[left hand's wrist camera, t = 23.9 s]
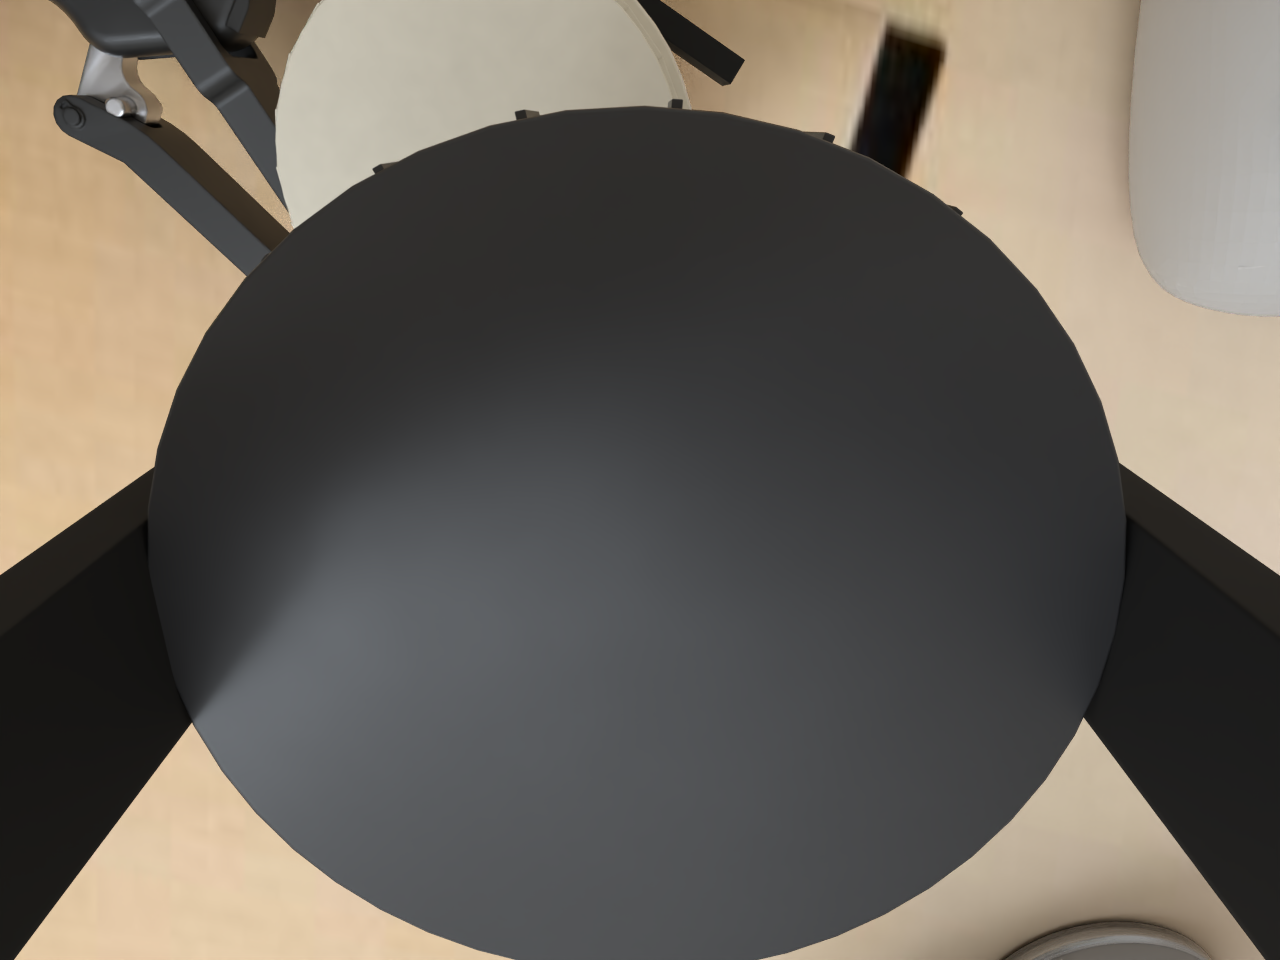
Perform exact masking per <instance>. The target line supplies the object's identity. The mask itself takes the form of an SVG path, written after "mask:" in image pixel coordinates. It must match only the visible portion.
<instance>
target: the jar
mask: <svg viewBox="0 0 1280 960" xmlns="http://www.w3.org/2000/svg"><path fill="white" fill-rule="evenodd" d="M672 99H682V100H683V108H682V109H690V110H692V107H691V103H690V100H689V96H688V93H687V90H686V86H685V83H684V79H683V77H682V74H681V72H680V70H679V67H678V65H677V63H676V60H675V58H674V56H673V54H672V51H671V49H670V48H669V46H668V44H667V43H666V41H665V39H664V37H663V36H662V34H661V32H660V31H659V29H658V27H657V26H656V24H655V23H654V21H653V20H652V19H651V17H650V16H649V15H648V14H647V12H646V11H645V10H644V8H643V7H642V6H641V5H640V3H639V2H638V1H637V0H321V1H320V2H319V3H317V5H316V7H315V8H314V10H313V12H312V14H311V16H310V18H309V19H308V21H307V23H306V25H305V27H304V28H303V30H302V31H301V33H300V35H299V37H298V40H297V41H296V43H295V45H294V47H293V49H292V51H291V52H290V53H289V55H288V59H287V64H286V68H285V73H284V76H283V80H282V83H281V88H280V94H279V99H278V103H277V108H276V109H275V123H276V137H275V143H276V154H277V167H276V169H277V173H278V176H279V180H280V183H281V187H282V191H283V196H284V199H285V202H286V205H287V208H288V211H289V215H290V218H291V224H292V226H293V228H294V229H295V228H296V227H297V226H299V225H300V224H301V223H303V222H304V221H305V220H307V219H308V218H309V217H311V216H312V215H313V214H315V213H316V212H318V211H319V210H320V209H322V208H323V207H324V206H326V205H327V204H328V203H330V202H331V201H332V200H334V199H335V198H336V197H338V196H339V195H341V194H342V193H343V192H345V191H346V190H347V189H349V188H350V187H351V186H353V185H355V184H357V183H359V182H360V181H362V180H364V179H366V178H368V177H370V176H372V175H374V174H375V173H374V172H373V170H372V169H373V168H374V167H376V166H378V165H379V164H384V163H390V162H397V161H400V160H402V159H404V158H406V157H408V156H409V155H411V154H413V153H415V152H417V151H419V150H422V149H425V148H428V147H430V146H433V145H436V144H439V143H442V142H445V141H447V140H450V139H453V138H456V137H459V136H461V135H464V134H467V133H470V132H473V131H475V130H478V129H481V128H484V127H487V126H489V125H494V124H499V123H504V122H509V121H514V120H516V116H515V111H519V110H524V109H525V110H532V111H539V114H540V115H544V114H549V113H554V112H559V111H564V110H575V109H593V108H610V107H628V106H655V107H667V108H668V102H669V101H670V100H672Z"/></svg>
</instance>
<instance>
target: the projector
mask: <svg viewBox="0 0 1280 960" xmlns="http://www.w3.org/2000/svg"><path fill="white" fill-rule="evenodd" d="M1128 178H1129V197H1130V211H1131V218H1132V225H1133V232H1134V237H1135V241H1136V244H1137V248H1138V251H1139V255H1140V257H1141V259H1142V261H1143V263H1144V265H1145V267H1146V269H1147V271H1148V272H1149V274H1150V275H1151V277H1152V278H1153V279H1154V280H1155V281H1156V282H1157V283H1158V284H1159V285H1160V286H1161V287H1162V288H1163V289H1164V290H1165V291H1167V292H1168V293H1170V294H1171V295H1173V296H1175V297H1176V298H1179V299H1181V300H1183V301H1185V302H1188V303H1191V304H1193V305H1196V306H1199V307H1203V308H1207V309H1211V310H1215V311H1220V312H1225V313H1230V314H1239V315H1248V316H1280V0H1141V4H1140V12H1139V21H1138V29H1137V37H1136V46H1135V56H1134V68H1133V79H1132V91H1131V106H1130V126H1129V174H1128Z"/></svg>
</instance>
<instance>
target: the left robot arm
mask: <svg viewBox="0 0 1280 960" xmlns="http://www.w3.org/2000/svg"><path fill="white" fill-rule="evenodd" d="M1119 468H1120V476H1121V483H1122V491H1123V499H1124V506H1125V514H1126V559H1125V581H1124V587H1123V593H1122V599H1121V605H1120V610H1119V616H1118V622H1117V627H1116V632H1115V636H1114V640H1113V643H1112V646H1111V649H1110V652H1109V655H1108V658H1107V661H1106V664H1105V668H1104V671H1103V674H1102V677H1101V680H1100V683H1099V686H1098V688H1097V690H1096V692H1095V694H1094V696H1093V698H1092V701H1091V703H1090V705H1089V707H1088V709H1087V711H1086V713H1085V715H1084V718H1085V720H1086V721H1087V722H1088V724H1089V725H1090V726H1091V728H1092V729H1093V730H1094V732H1095V733H1096V734H1097V736H1098V737H1099V738H1100V740H1101V741H1102V742H1103V744H1104V745H1105V746H1106V748H1107V749H1108V750H1109V752H1110V753H1111V754H1112V756H1113V757H1114V758H1115V760H1116V761H1117V762H1118V764H1119V765H1120V766H1121V768H1122V769H1123V770H1124V772H1125V773H1126V774H1127V776H1128V777H1129V778H1130V780H1131V781H1132V782H1133V784H1134V785H1135V786H1136V788H1137V789H1138V790H1139V792H1140V793H1141V794H1142V796H1143V797H1144V798H1145V800H1146V801H1147V802H1148V804H1149V805H1150V806H1151V808H1152V809H1153V810H1154V812H1155V813H1156V814H1157V816H1158V817H1159V818H1160V820H1161V821H1162V822H1163V824H1164V825H1165V826H1166V828H1167V829H1168V830H1169V832H1170V833H1171V834H1172V836H1173V837H1174V838H1175V840H1176V841H1177V842H1178V844H1179V845H1180V846H1181V848H1182V849H1183V850H1184V852H1185V853H1186V854H1187V856H1188V857H1189V858H1190V860H1191V861H1192V862H1193V864H1194V865H1195V866H1196V868H1197V869H1198V870H1199V872H1200V873H1201V874H1202V876H1203V877H1204V878H1205V880H1206V881H1207V882H1208V884H1209V885H1210V886H1211V888H1212V889H1213V890H1214V892H1215V893H1216V894H1217V896H1218V897H1219V898H1220V900H1221V901H1222V902H1223V904H1224V905H1225V906H1226V908H1227V909H1228V910H1229V912H1230V913H1231V914H1232V916H1233V917H1234V918H1235V920H1236V921H1237V922H1238V924H1239V925H1240V926H1241V928H1242V929H1243V930H1244V932H1245V933H1246V934H1247V936H1248V937H1249V938H1250V940H1251V941H1252V942H1253V944H1254V945H1255V946H1256V948H1257V949H1258V950H1259V952H1260V953H1261V954H1262V956H1263V957H1264V958H1265V960H1280V576H1279V575H1278V574H1277V573H1275V572H1274V571H1272V570H1271V569H1270V568H1268V567H1267V566H1265V565H1264V564H1262V563H1261V562H1260V561H1258V560H1257V559H1255V558H1254V557H1252V556H1251V555H1250V554H1248V553H1247V552H1245V551H1244V550H1243V549H1241V548H1240V547H1238V546H1237V545H1235V544H1234V543H1233V542H1231V541H1230V540H1228V539H1227V538H1225V537H1224V536H1223V535H1221V534H1220V533H1218V532H1217V531H1215V530H1214V529H1213V528H1211V527H1210V526H1208V525H1207V524H1206V523H1204V522H1203V521H1201V520H1200V519H1198V518H1197V517H1196V516H1194V515H1193V514H1191V513H1190V512H1188V511H1187V510H1186V509H1184V508H1183V507H1181V506H1180V505H1179V504H1177V503H1176V502H1174V501H1173V500H1171V499H1170V498H1169V497H1167V496H1166V495H1164V494H1163V493H1161V492H1160V491H1159V490H1157V489H1156V488H1154V487H1153V486H1152V485H1150V484H1149V483H1147V482H1146V481H1144V480H1143V479H1142V478H1140V477H1139V476H1137V475H1136V474H1134V473H1133V472H1132V471H1130V470H1129V469H1127V468H1126V467H1125V466H1123V465H1122V464H1120V463H1119ZM153 473H154V467H153V468H152V469H151V470H149V471H148V472H146V473H145V474H143V475H142V476H141V477H139V478H138V479H136V480H135V481H134V482H132V483H131V484H129V485H128V486H126V487H125V488H124V489H122V490H121V491H119V492H118V493H116V494H115V495H114V496H112V497H111V498H109V499H108V500H107V501H105V502H104V503H102V504H101V505H99V506H98V507H97V508H95V509H94V510H92V511H91V512H89V513H88V514H87V515H85V516H84V517H82V518H81V519H80V520H78V521H77V522H75V523H74V524H72V525H71V526H70V527H68V528H67V529H65V530H64V531H62V532H61V533H60V534H58V535H57V536H55V537H54V538H52V539H51V540H50V541H48V542H47V543H45V544H44V545H43V546H41V547H40V548H38V549H37V550H35V551H34V552H33V553H31V554H30V555H28V556H27V557H25V558H24V559H23V560H21V561H20V562H18V563H17V564H16V565H14V566H13V567H11V568H10V569H8V570H7V571H6V572H4V573H3V574H1V575H0V960H14V959H15V958H16V956H17V955H18V954H19V952H20V951H21V950H22V948H23V947H24V946H25V944H26V943H27V942H28V940H29V939H30V938H31V936H32V935H33V934H34V932H35V931H36V930H37V928H38V927H39V926H40V924H41V923H42V922H43V920H44V919H45V918H46V916H47V915H48V914H49V912H50V911H51V910H52V908H53V907H54V906H55V904H56V903H57V902H58V900H59V899H60V898H61V896H62V895H63V894H64V892H65V891H66V890H67V888H68V887H69V886H70V884H71V883H72V882H73V880H74V879H75V878H76V876H77V875H78V874H79V872H80V871H81V870H82V868H83V867H84V866H85V864H86V863H87V862H88V860H89V859H90V858H91V856H92V855H93V854H94V852H95V851H96V850H97V848H98V847H99V846H100V844H101V843H102V842H103V840H104V839H105V838H106V836H107V835H108V834H109V832H110V831H111V830H112V828H113V827H114V826H115V824H116V823H117V822H118V820H119V819H120V818H121V816H122V815H123V814H124V812H125V811H126V810H127V808H128V807H129V806H130V804H131V803H132V802H133V800H134V799H135V798H136V796H137V795H138V794H139V792H140V791H141V790H142V788H143V787H144V786H145V784H146V783H147V782H148V780H149V779H150V778H151V776H152V775H153V774H154V772H155V771H156V770H157V768H158V767H159V766H160V764H161V763H162V762H163V760H164V759H165V758H166V756H167V755H168V754H169V752H170V751H171V750H172V748H173V747H174V746H175V744H176V743H177V742H178V740H179V739H180V738H181V736H182V735H183V734H184V732H185V731H186V730H187V728H188V727H189V726H190V724H191V723H192V721H191V718H190V716H189V714H188V712H187V710H186V707H185V705H184V703H183V701H182V699H181V696H180V694H179V692H178V690H177V687H176V684H175V681H174V677H173V673H172V669H171V665H170V661H169V656H168V652H167V648H166V643H165V639H164V635H163V630H162V626H161V622H160V617H159V613H158V609H157V605H156V600H155V596H154V592H153V587H152V583H151V578H150V573H149V568H148V563H147V556H148V504H149V498H150V492H151V486H152V479H153ZM1004 960H1212V959H1211V958H1210V957H1209V955H1208V954H1207V953H1206V952H1205V951H1204V950H1203V949H1202V948H1201V947H1200V946H1199V945H1197V944H1196V943H1195V942H1193V941H1192V940H1190V939H1188V938H1187V937H1185V936H1183V935H1181V934H1179V933H1177V932H1174V931H1172V930H1169V929H1166V928H1163V927H1159V926H1155V925H1150V924H1144V923H1135V922H1103V923H1095V924H1087V925H1082V926H1077V927H1073V928H1069V929H1065V930H1062V931H1059V932H1056V933H1053V934H1050V935H1048V936H1045V937H1043V938H1040V939H1038V940H1036V941H1034V942H1032V943H1030V944H1028V945H1026V946H1024V947H1023V948H1021V949H1019V950H1017V951H1016V952H1014V953H1013V954H1011V955H1010V956H1009V957H1007V958H1006V959H1004Z"/></svg>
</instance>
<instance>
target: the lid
mask: <svg viewBox="0 0 1280 960" xmlns="http://www.w3.org/2000/svg"><path fill="white" fill-rule="evenodd" d="M682 108H683V100H682V99H672V100H670V101H669V102H668V108H667V107H655V106H628V107H610V108H593V109H575V110H564V111H559V112H554V113H549V114H544V115H540V114H539V111H532V110H525V109H524V110H519V111H515V116H516V120H514V121H509V122H504V123H499V124H494V125H489V126H487V127H484V128H481V129H478V130H475V131H473V132H470V133H467V134H464V135H461V136H459V137H456V138H453V139H450V140H447V141H445V142H442V143H439V144H436V145H433V146H430V147H428V148H425V149H422V150H419V151H417V152H415V153H413V154H411V155H409V156H408V157H406V158H404V159H402V160H400V161H397V162H390V163H384V164H379V165H378V166H376V167H374V168H373V169H372V170H373V172H374V173H375V174H374V175H372V176H370V177H368V178H366V179H364V180H362V181H360V182H359V183H357V184H355V185H353V186H351V187H350V188H349V189H347V190H346V191H345V192H343V193H342V194H341V195H339V196H338V197H336V198H335V199H334V200H332V201H331V202H330V203H328V204H327V205H326V206H324V207H323V208H322V209H320V210H319V211H318V212H316V213H315V214H313V215H312V216H311V217H309V218H308V219H307V220H305V221H304V222H303V223H301V224H300V225H299V226H297V227H296V228H295V229H293V230H292V231H291V232H290V233H289V235H288V236H287V237H286V238H285V239H284V240H283V241H282V242H281V243H280V244H279V245H278V246H277V247H276V248H275V249H274V250H273V251H272V252H271V253H268V254H266V255H265V256H264V257H263V258H262V260H261V263H260V264H259V265H258V266H257V267H256V268H255V269H254V270H253V271H252V272H251V273H250V274H249V275H248V276H247V277H246V278H245V279H244V280H243V282H242V283H241V285H240V286H239V287H238V289H237V290H236V291H235V293H234V294H233V296H232V297H231V298H230V300H229V301H228V302H227V304H226V305H225V307H224V308H223V309H222V311H221V312H220V313H219V315H218V316H217V318H216V319H215V320H214V322H213V323H212V324H211V326H210V327H209V329H208V330H207V331H206V333H205V335H204V337H203V339H202V341H201V343H200V345H199V347H198V349H197V351H196V353H195V355H194V357H193V358H192V360H191V362H190V364H189V366H188V368H187V370H186V372H185V374H184V376H183V378H182V380H181V382H180V384H179V386H178V388H177V390H176V393H175V396H174V399H173V402H172V405H171V408H170V412H169V415H168V418H167V421H166V424H165V427H164V430H163V433H162V436H161V439H160V442H159V445H158V449H157V455H156V461H155V467H154V473H153V479H152V486H151V492H150V498H149V504H148V556H147V563H148V568H149V573H150V578H151V583H152V587H153V592H154V596H155V600H156V605H157V609H158V613H159V617H160V622H161V626H162V630H163V635H164V639H165V643H166V648H167V652H168V656H169V661H170V665H171V669H172V673H173V677H174V681H175V684H176V687H177V690H178V692H179V694H180V696H181V699H182V701H183V703H184V705H185V707H186V710H187V712H188V714H189V716H190V718H191V721H192V723H193V725H194V727H195V728H196V730H197V732H198V733H199V735H200V736H201V738H202V740H203V741H204V743H205V745H206V746H207V748H208V749H209V751H210V753H211V754H212V756H213V757H214V759H215V761H216V762H217V764H218V765H219V767H220V769H221V770H222V772H223V773H224V774H225V775H226V777H227V778H228V779H229V780H230V782H231V783H232V784H233V785H234V787H235V788H236V789H237V790H238V791H239V793H240V794H241V795H242V796H243V798H244V799H245V800H246V801H247V803H248V804H249V805H250V806H251V808H252V809H253V810H254V811H255V812H256V814H258V815H259V816H260V817H261V818H262V819H263V820H264V821H265V822H266V823H267V824H268V825H269V826H270V827H271V828H272V829H273V830H274V831H275V832H276V833H277V834H278V835H279V836H280V837H281V838H282V839H283V840H284V841H285V842H286V843H287V844H288V845H289V846H290V847H291V848H292V849H294V850H295V851H296V852H297V853H299V854H300V855H301V856H302V857H304V858H305V859H306V860H308V861H309V862H310V863H312V864H313V865H314V866H315V867H317V868H318V869H319V870H321V871H322V872H323V873H324V874H326V875H327V876H328V877H330V878H331V879H332V880H334V881H335V882H336V883H338V884H339V885H341V886H343V887H344V888H346V889H348V890H349V891H351V892H353V893H354V894H356V895H357V896H359V897H361V898H362V899H364V900H366V901H367V902H369V903H371V904H372V905H374V906H375V907H377V908H379V909H380V910H382V911H384V912H386V913H389V914H391V915H393V916H395V917H397V918H399V919H401V920H403V921H405V922H407V923H410V924H412V925H414V926H416V927H418V928H420V929H422V930H424V931H426V932H428V933H431V934H434V935H437V936H440V937H442V938H445V939H448V940H451V941H453V942H456V943H459V944H462V945H465V946H467V947H470V948H473V949H476V950H479V951H483V952H487V953H491V954H495V955H499V956H503V957H507V958H511V959H515V960H759V959H763V958H768V957H772V956H776V955H780V954H785V953H788V952H791V951H794V950H797V949H800V948H803V947H806V946H809V945H812V944H815V943H818V942H821V941H824V940H827V939H830V938H833V937H836V936H838V935H840V934H843V933H845V932H847V931H849V930H851V929H854V928H856V927H858V926H860V925H862V924H865V923H867V922H869V921H871V920H873V919H876V918H878V917H880V916H882V915H884V914H886V913H888V912H890V911H891V910H893V909H895V908H896V907H898V906H900V905H902V904H903V903H905V902H907V901H908V900H910V899H912V898H914V897H915V896H917V895H919V894H920V893H922V892H924V891H925V890H927V889H929V888H930V887H932V886H933V885H934V884H936V883H937V882H939V881H940V880H941V879H943V878H944V877H945V876H947V875H948V874H949V873H951V872H952V871H953V870H955V869H956V868H957V867H959V866H960V865H962V864H963V863H964V862H966V861H967V860H968V859H970V858H971V857H972V856H973V855H974V854H976V853H977V852H978V851H979V850H980V849H981V848H982V847H983V846H984V845H985V844H986V843H987V842H988V841H990V840H991V839H992V838H993V837H994V836H995V835H996V834H997V833H998V832H999V831H1000V830H1001V829H1002V828H1003V827H1005V826H1006V825H1007V824H1008V823H1009V822H1010V821H1011V820H1012V819H1013V818H1014V816H1015V815H1016V814H1017V813H1018V812H1019V810H1020V809H1021V808H1022V807H1023V806H1024V805H1025V803H1026V802H1027V801H1028V800H1029V799H1030V798H1031V796H1032V795H1033V794H1034V793H1035V792H1036V790H1037V789H1038V788H1039V787H1040V786H1041V785H1042V783H1043V782H1044V781H1045V780H1046V778H1047V777H1048V775H1049V774H1050V772H1051V771H1052V769H1053V768H1054V766H1055V765H1056V763H1057V762H1058V760H1059V758H1060V757H1061V755H1062V754H1063V752H1064V751H1065V749H1066V748H1067V746H1068V745H1069V743H1070V742H1071V740H1072V739H1073V737H1074V736H1075V734H1076V732H1077V730H1078V727H1079V725H1080V723H1081V721H1082V719H1083V717H1084V715H1085V713H1086V711H1087V709H1088V707H1089V705H1090V703H1091V701H1092V698H1093V696H1094V694H1095V692H1096V690H1097V688H1098V686H1099V683H1100V680H1101V677H1102V674H1103V671H1104V668H1105V664H1106V661H1107V658H1108V655H1109V652H1110V649H1111V646H1112V643H1113V640H1114V636H1115V632H1116V627H1117V622H1118V616H1119V610H1120V605H1121V599H1122V593H1123V587H1124V581H1125V559H1126V514H1125V506H1124V499H1123V491H1122V483H1121V476H1120V468H1119V461H1118V457H1117V454H1116V450H1115V447H1114V443H1113V440H1112V437H1111V433H1110V430H1109V426H1108V423H1107V420H1106V416H1105V413H1104V409H1103V406H1102V402H1101V400H1100V398H1099V396H1098V394H1097V391H1096V389H1095V387H1094V385H1093V383H1092V381H1091V379H1090V377H1089V375H1088V372H1087V370H1086V368H1085V366H1084V364H1083V362H1082V360H1081V358H1080V355H1079V353H1078V351H1077V349H1076V347H1075V345H1074V343H1073V342H1072V340H1071V339H1070V337H1069V336H1068V334H1067V333H1066V331H1065V330H1064V328H1063V327H1062V325H1061V324H1060V322H1059V321H1058V320H1057V318H1056V317H1055V315H1054V314H1053V312H1052V311H1051V309H1050V308H1049V306H1048V305H1047V303H1046V302H1045V300H1044V299H1043V297H1042V296H1041V295H1040V293H1039V292H1038V290H1037V289H1036V288H1035V287H1034V286H1033V284H1032V283H1031V282H1030V281H1029V280H1028V279H1027V278H1026V277H1025V276H1024V275H1023V274H1022V273H1021V272H1020V271H1019V269H1018V268H1017V267H1016V266H1015V265H1014V264H1013V263H1012V262H1011V261H1010V260H1009V259H1008V258H1007V257H1006V256H1005V254H1004V253H1003V252H1002V251H1001V250H1000V249H999V248H998V247H997V246H996V245H995V244H994V243H993V242H992V241H991V240H990V239H989V238H988V237H987V236H986V235H984V234H983V233H982V232H981V231H979V230H978V229H977V228H976V227H974V226H973V225H972V224H970V223H969V222H968V221H967V220H965V219H964V218H963V217H962V216H961V215H962V214H963V212H962V211H961V210H959V209H958V208H957V207H954V206H950V205H946V204H945V203H944V202H943V201H941V200H940V199H939V198H938V197H936V196H935V195H934V194H932V193H930V192H929V191H927V190H925V189H923V188H922V187H920V186H918V185H916V184H915V183H913V182H911V181H909V180H908V179H906V178H904V177H902V176H901V175H899V174H897V173H895V172H894V171H892V170H890V169H888V168H887V167H885V166H883V165H881V164H880V163H878V162H876V161H874V160H873V159H871V158H869V157H866V156H864V155H861V154H859V153H856V152H854V151H851V150H848V149H846V148H843V147H841V146H838V145H836V144H833V141H834V138H835V136H834V135H831V134H829V133H826V132H802V131H800V130H797V129H792V128H788V127H784V126H779V125H775V124H771V123H766V122H762V121H758V120H754V119H749V118H745V117H741V116H736V115H732V114H728V113H724V112H713V111H702V110H690V109H682Z"/></svg>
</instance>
